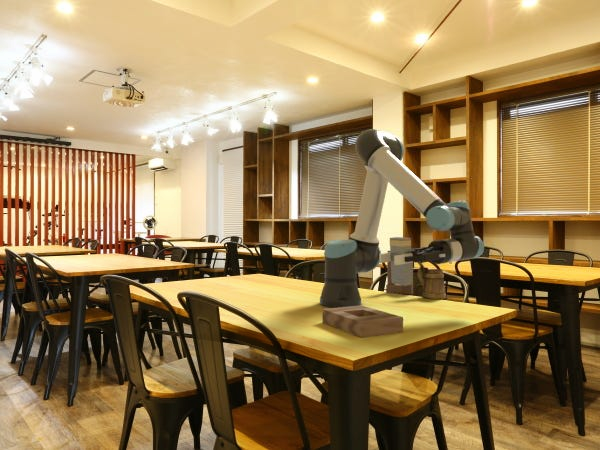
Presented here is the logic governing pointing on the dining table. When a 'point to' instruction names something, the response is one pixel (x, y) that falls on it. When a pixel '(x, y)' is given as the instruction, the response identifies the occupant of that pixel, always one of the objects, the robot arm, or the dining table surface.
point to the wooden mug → (432, 282)
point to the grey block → (403, 271)
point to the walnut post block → (362, 321)
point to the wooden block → (396, 287)
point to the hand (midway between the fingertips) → (387, 259)
